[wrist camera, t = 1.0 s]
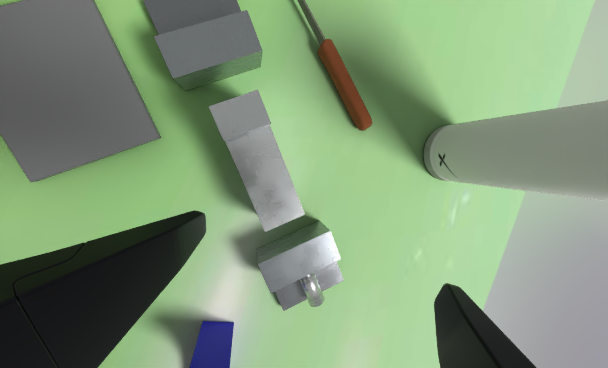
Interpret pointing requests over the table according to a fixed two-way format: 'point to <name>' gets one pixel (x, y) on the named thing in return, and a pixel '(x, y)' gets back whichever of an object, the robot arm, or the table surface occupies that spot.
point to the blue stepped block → (213, 345)
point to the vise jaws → (225, 63)
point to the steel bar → (258, 158)
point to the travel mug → (528, 151)
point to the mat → (65, 88)
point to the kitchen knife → (339, 74)
